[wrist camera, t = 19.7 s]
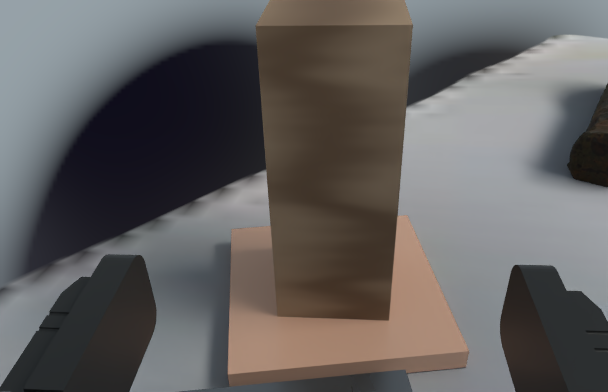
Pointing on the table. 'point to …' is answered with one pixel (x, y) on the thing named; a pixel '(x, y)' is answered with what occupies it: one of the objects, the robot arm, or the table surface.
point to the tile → (336, 321)
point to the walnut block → (334, 150)
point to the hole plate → (331, 384)
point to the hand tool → (592, 148)
